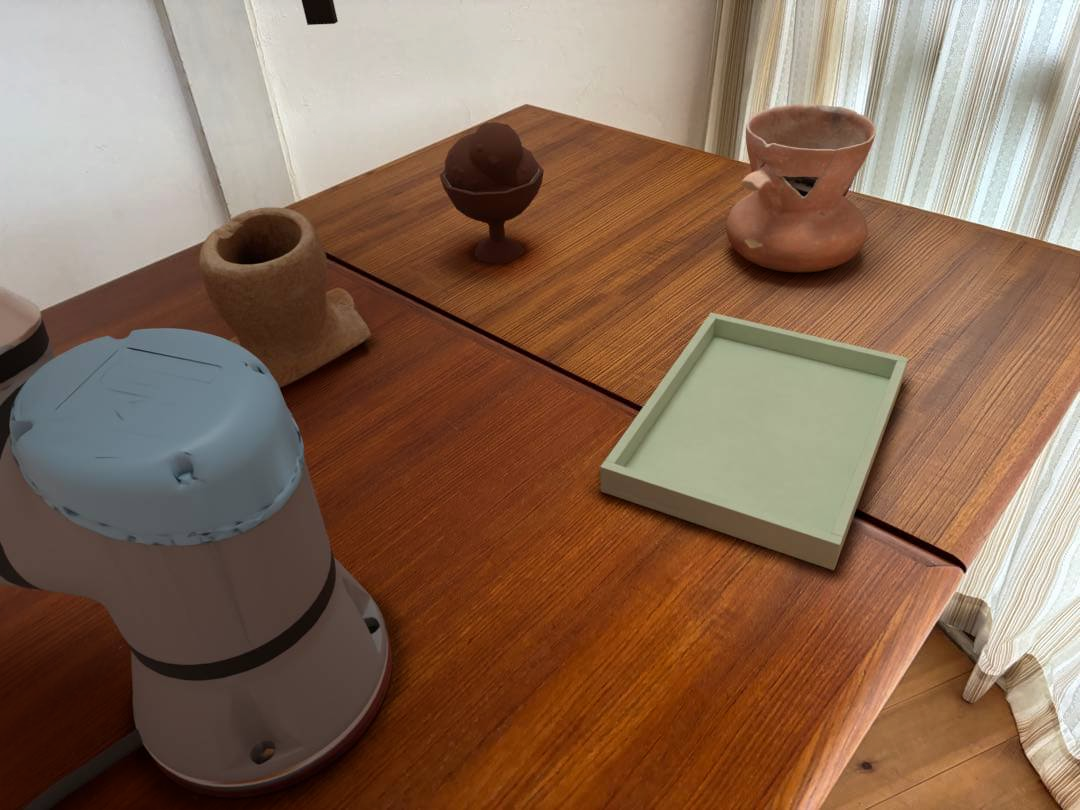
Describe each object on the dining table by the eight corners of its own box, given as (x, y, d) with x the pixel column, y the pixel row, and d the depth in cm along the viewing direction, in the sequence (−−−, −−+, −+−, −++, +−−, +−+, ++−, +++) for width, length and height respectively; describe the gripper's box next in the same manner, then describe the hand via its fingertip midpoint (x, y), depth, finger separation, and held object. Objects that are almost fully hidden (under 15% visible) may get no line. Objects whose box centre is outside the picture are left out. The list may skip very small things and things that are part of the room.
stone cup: (263, 424, 73) (212, 272, 64) (203, 369, 81) (149, 225, 71) (405, 350, 81) (378, 205, 72) (338, 306, 88) (306, 169, 79)
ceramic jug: (793, 307, 84) (815, 170, 75) (688, 255, 93) (696, 128, 84) (903, 247, 92) (933, 117, 83) (796, 205, 101) (813, 84, 92)
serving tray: (833, 570, 57) (840, 545, 56) (600, 491, 65) (600, 466, 63) (902, 382, 73) (908, 357, 72) (708, 335, 81) (710, 312, 79)
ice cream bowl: (557, 234, 99) (552, 105, 89) (527, 281, 90) (518, 144, 81) (473, 225, 101) (458, 99, 92) (436, 271, 93) (417, 137, 84)
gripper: (261, -282, 59) (334, 39, 72) (391, -279, 78) (430, -25, 91) (168, -269, 61) (255, 42, 73) (318, -269, 80) (366, -22, 92)
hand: (352, 5), depth 82 cm, fingers open, 13 cm apart
